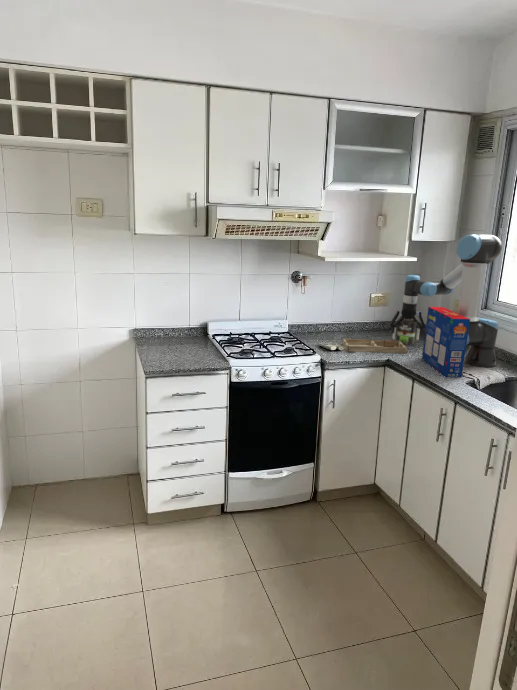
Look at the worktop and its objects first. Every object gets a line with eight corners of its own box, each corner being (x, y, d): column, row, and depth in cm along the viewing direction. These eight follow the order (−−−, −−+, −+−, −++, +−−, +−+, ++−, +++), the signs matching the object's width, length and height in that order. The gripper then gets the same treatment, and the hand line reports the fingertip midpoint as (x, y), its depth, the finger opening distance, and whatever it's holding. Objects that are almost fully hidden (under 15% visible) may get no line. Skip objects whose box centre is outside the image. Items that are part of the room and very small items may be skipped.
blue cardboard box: (461, 377, 243) (470, 319, 235) (444, 377, 242) (453, 318, 235) (436, 360, 269) (443, 307, 262) (421, 359, 269) (428, 306, 261)
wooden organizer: (406, 354, 277) (407, 348, 276) (347, 352, 276) (347, 346, 275) (398, 346, 292) (399, 340, 291) (342, 344, 292) (342, 338, 291)
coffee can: (412, 347, 291) (415, 323, 288) (393, 345, 296) (396, 320, 292) (415, 344, 300) (418, 320, 296) (397, 341, 305) (400, 317, 301)
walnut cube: (393, 350, 282) (394, 342, 281) (385, 349, 282) (386, 341, 281) (391, 347, 286) (392, 339, 285) (383, 347, 286) (384, 339, 285)
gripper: (429, 302, 295) (425, 338, 301) (386, 300, 295) (382, 336, 301) (434, 304, 288) (429, 341, 294) (389, 303, 288) (385, 339, 293)
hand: (405, 339), depth 297 cm, fingers open, 13 cm apart
